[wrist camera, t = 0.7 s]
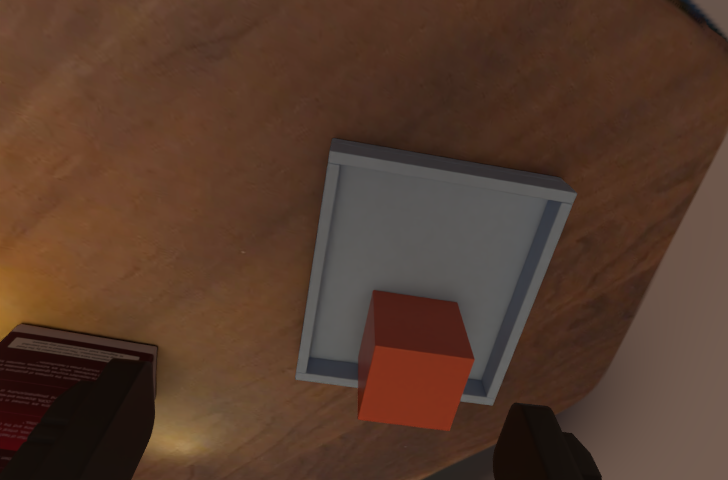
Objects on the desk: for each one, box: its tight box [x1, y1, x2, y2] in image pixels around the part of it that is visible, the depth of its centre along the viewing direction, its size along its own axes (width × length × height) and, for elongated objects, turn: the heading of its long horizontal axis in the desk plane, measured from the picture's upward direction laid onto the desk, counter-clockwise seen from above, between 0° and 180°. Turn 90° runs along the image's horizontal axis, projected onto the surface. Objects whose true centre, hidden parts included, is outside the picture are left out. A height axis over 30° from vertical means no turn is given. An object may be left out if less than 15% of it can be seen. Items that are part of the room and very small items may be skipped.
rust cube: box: [358, 290, 475, 431], centre depth 28 cm, size 5×5×5 cm
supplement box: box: [0, 324, 157, 473], centre depth 25 cm, size 9×5×16 cm, turn 77°
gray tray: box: [295, 138, 577, 405], centre depth 28 cm, size 14×12×2 cm
